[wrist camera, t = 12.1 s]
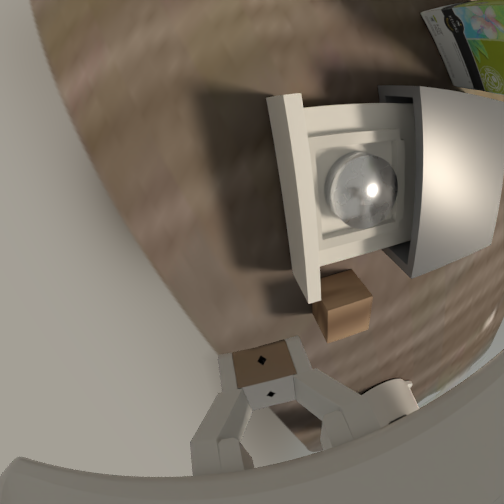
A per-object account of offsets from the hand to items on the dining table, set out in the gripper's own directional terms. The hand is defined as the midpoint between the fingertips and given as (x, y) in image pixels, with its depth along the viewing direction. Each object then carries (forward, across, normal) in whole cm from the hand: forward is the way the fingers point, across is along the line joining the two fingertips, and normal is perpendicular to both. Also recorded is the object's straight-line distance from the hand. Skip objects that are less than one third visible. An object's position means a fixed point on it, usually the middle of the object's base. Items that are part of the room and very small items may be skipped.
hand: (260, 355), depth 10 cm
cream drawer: (+16, -13, 0) cm, 20 cm away
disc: (+14, -12, 0) cm, 18 cm away
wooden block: (+16, -10, +13) cm, 23 cm away
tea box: (+17, -33, -17) cm, 40 cm away
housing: (+16, -24, 0) cm, 29 cm away
